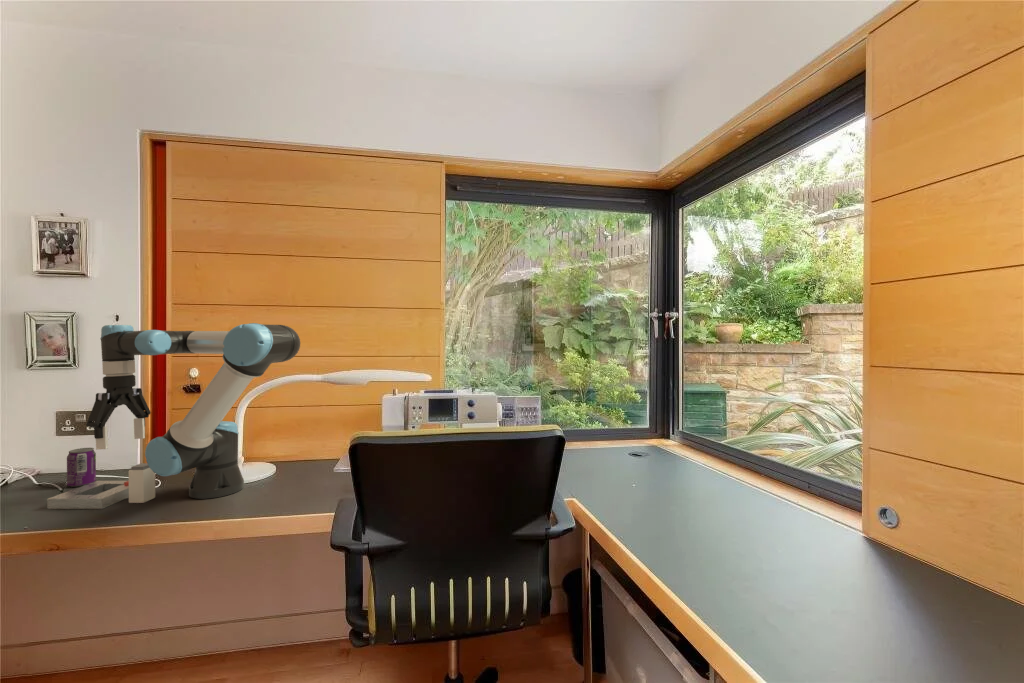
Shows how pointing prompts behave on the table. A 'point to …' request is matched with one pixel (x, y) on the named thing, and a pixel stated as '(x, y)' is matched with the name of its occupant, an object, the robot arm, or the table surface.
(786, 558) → the table surface
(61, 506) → the socket block
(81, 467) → the beverage can
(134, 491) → the plug
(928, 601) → the table surface
